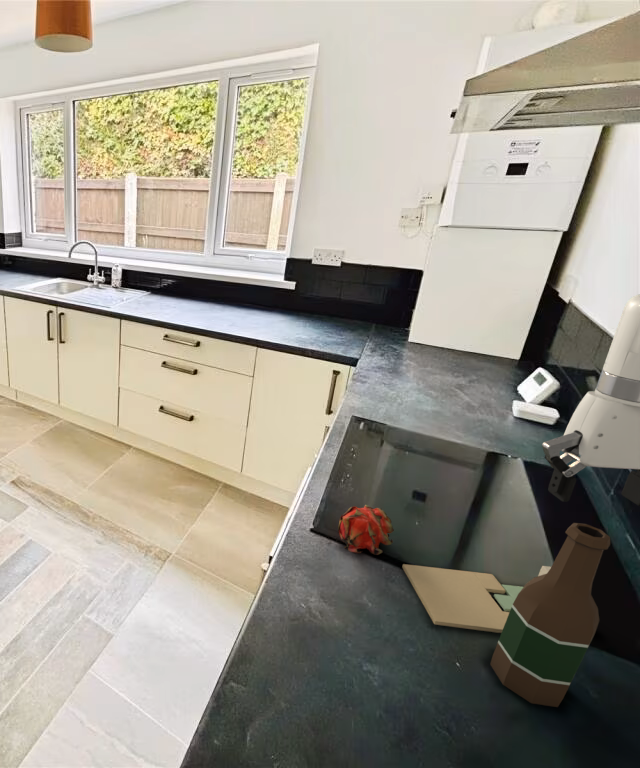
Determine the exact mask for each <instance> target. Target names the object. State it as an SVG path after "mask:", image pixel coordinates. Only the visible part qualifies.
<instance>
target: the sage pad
mask: <svg viewBox="0 0 640 768" xmlns="http://www.w3.org/2000/svg"><path fill="white" fill-rule="evenodd" d="M551 567H552V566H548V565H542V566H541V568H540V570H539V573H538V575H537V576H541V575H544V574H547V573H548V571H549V570H550V569H551ZM501 586H502V587H503V588H504V589H505V594H500V593H494V594H493V597H494V600H496V601H497V604H498V605H499V606H500V608H501V609H503V611H504V612H510V610H511V607H512V605H513V603H514V601H515V599H516V597H517V595H518V594H519V592H520V591H521V590H522V588H523V587H524V586H521V585H520V586H518V585H513V584H512V585H511V584H501Z"/></svg>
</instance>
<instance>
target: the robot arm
mask: <svg viewBox="0 0 640 768" xmlns="http://www.w3.org/2000/svg"><path fill="white" fill-rule="evenodd" d="M624 305H625V306H624V307H623V310H622V313H621V315H620V318H619V321H618V324H617V327H616V329H615V332H614V336H613V338H612V341H611V344H610V346H609V350H608V352H607V355H606V358H605V361H604V364H603V367H602V370H601V372H600V375H599V377H598V380H597V383H596V386H595V389H594V390H589V391H587V392H586V394H585V395H584V396H583V398H581V400H580V401H579V403H578V405H577V406H576V408H575V410H574V412H573V413H572V415H571V417H570V419H569V422H568V424H567V426H566V428H565V431H564V433H563V435H561V436H558V437H555V438H552V439H548V440H547V441H544V442H542V443H541V448H542V450H543V455H544V459H545V461H546V462H547V463H549V465H550V468H552V469H553V472H552V475H551V478H550V481H549V484H548V489H547V491H548V492H549V493H550V494H552V495H553V496H554V497H555V498H557V499H558V500H560V501H561V502H565V503H567V502H569V501H570V500H571V496H572V494H573V491H574V488H575V486H576V483H577V477H575V475H576V474H577V473H579V472H581V471H583V470H584V469H585V468H587V467H590V468H603V469H604V468H605V469H621V470H623V469H625V470H630V472H629V473H628V475H627V478H626V481H625V482H624V486H623V488H622V491H621V496H623V497H624V498H626V499H627V500H629V501H630V502H632V503H633V504H635V505H636V506H637V507H640V294H636V295H634V296H631V298H629V299H628V300H627V302H626V303H625V304H624ZM560 452H562V453H563V454H560ZM572 461H573V462H572ZM570 462H572V463H570ZM569 463H570V464H569ZM568 464H569V465H568Z"/></svg>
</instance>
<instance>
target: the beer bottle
mask: <svg viewBox="0 0 640 768" xmlns="http://www.w3.org/2000/svg"><path fill="white" fill-rule="evenodd" d="M564 533H565V534H566V535H567V536H566V538H565V540H564V542H563V544H562V546H561V548H560V549H559V551H558V554H557V556H556V557H555V559H554V561H553V563H552V565H551V566H550V567H551V569H550V570H549V571H548V573H547V574H544V575H541V576H538V575H537V576H535V577H533V578H532V579H530V580H529V581H528V582H526V583H525V584H524V585H523V586H522V587H523V588H522V590H521V591H520V592H519V594H518V595H517V597H516V599H515V601H514V603H513V605H512V607H511V610H510V612H509V611H508V612H509V615H508V618H507V620H506V623H505V625H504V628H503V630H502V633H500V635H499V638H498V641H497V643H496V646H495V648H494V651H493V654H492V657H491V660H490V664H489V665H490V666H491V668H492V669H493V671H494V674H496V676H497V678H498V679H499V681H500V682H501V684H502V685H503V686H504V687H505V688H507V689H509V690H511V692H513V693H515V694H516V695H518V696H519V697H521V698H523V699H524V700H525V701H527V702H528V703H530V704H533V705H541V706H545V707H552V708H559V706H560V704H561V703H562V701H563V700H564V698H565V695H566V694H567V692H568V690H569V688H570V686H571V684H572V682H573V680H574V678H575V675H576V673H577V672H578V669H579V667H580V665H581V663H582V661H583V659H584V657H585V655H586V653H587V651H588V649H589V647H590V644H591V643H592V641H593V639H594V637H595V634H596V632H597V629H598V626H599V623H600V616H599V608H598V606H597V603H596V601H595V599H594V598H593V595H592V590H593V589H592V588H593V582H594V580H595V576H596V574H597V570H598V567H599V564H600V563H601V559H602V556H603V554H604V551H605V550H608V549H609V547H610V546H611V536H609V535H608V534H607V533H606V532H605V531H603V530H602V529H600V528H597V527H594V526H592V525H590V524H587V523H579V522H573V523H572V524H571V525H570V526H569V527H567V529H566V530H565V532H564Z"/></svg>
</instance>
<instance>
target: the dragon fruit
mask: <svg viewBox="0 0 640 768" xmlns="http://www.w3.org/2000/svg"><path fill="white" fill-rule="evenodd" d="M393 532H395V529H394V527H393V525H392V519H391V518H390V517H389V516H388V515H387V513H386V511H385V510H383V509H382V508H381V507H376V508H373V507H372V506H370V505H368V504H365V505H364V506H363V507H357V506H355V505H354V506H351V507H349V508H348V509H347V510H346V511H345V512H344V513H343V514H341V516H340V517H339V523H338V527H337V534H338V535H339V538H340V539H341V541H342V542H343V543H345V545H346V546H343V547H344V549H347V550H348V552H349V553H353V554H361V553H362V552H363V550H365V549H366V550H368V552H369V553H370V554H371V555H372V554H373V555H375V556H379V555H380V554H382V553H383V550H382V549H381V548H379V545H380V544H383V546H390V545H393V543H394V541H393V539H392V538H391V539H389V538H390V534H392V533H393Z"/></svg>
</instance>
